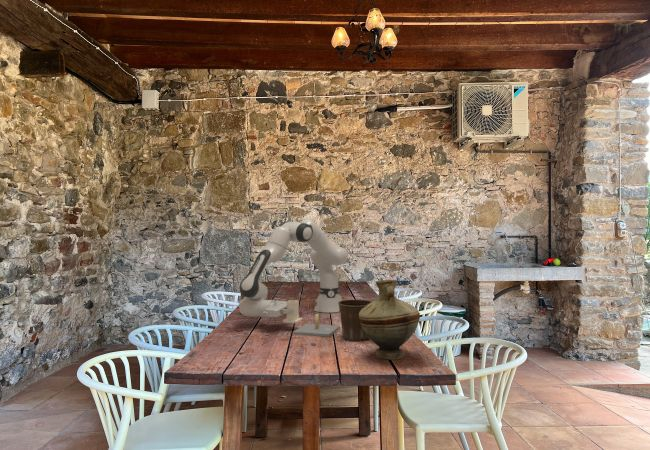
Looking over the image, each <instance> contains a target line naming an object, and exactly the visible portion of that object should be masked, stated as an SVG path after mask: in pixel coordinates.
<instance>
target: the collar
mask: <svg viewBox="0 0 650 450" xmlns="http://www.w3.org/2000/svg"><path fill="white" fill-rule="evenodd" d="M285 302H286V303H287V309H292V310H293V312H292V313H287V314H286V318H285V319H282V323H285V324H286V323H287V324H299V323H300V322H302V321H303V317H300V305H299V303H300V302H299V300H297V299H296V300H295V299H294V300H293V299H290V300H288V301H285Z"/></svg>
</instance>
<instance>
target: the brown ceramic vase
mask: <svg viewBox="0 0 650 450" xmlns="http://www.w3.org/2000/svg"><path fill="white" fill-rule="evenodd" d="M375 284H376V287H377V288H378V296H377V299H375V300H373V301H372V302H371V303H370V304H368V305H367V306H365V307H364V308H363V309H362V310H361V311H360V312H359V320H360V323H361V326H362V328H363V330H364V332H365V333H366V334H367V336H368V337H369V338H368V339H369V340H370V341H372V342H373V344H375V345H376V346H377V347H378V348H377V349H376V350H375V356H376V357H377V358H379V359H383V360H389V361H390V360H391V361H395V359H396V360H401V359H403V358H404V357H405V351H404V349H401V347H402V346H404V344H405V343H406V342H407V341H409V339H411V337H412V336H413V334H415V332H416V331H417V328H418V326H419V322H420V319H421V313H420V311H419V309H417V308H416V307H415V306H414V305H413V304H410V303H409V302H406V301H404V300H402V299H399V298H397V297H395V291H396V290H395V289H396V287H397V284H398V280H397V279H384V280H377V281H375Z"/></svg>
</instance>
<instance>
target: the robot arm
mask: <svg viewBox="0 0 650 450" xmlns="http://www.w3.org/2000/svg"><path fill="white" fill-rule="evenodd" d="M290 242H294V243H295V242H296V243H307V245H309V246H310V248H311V251H310V260H311V261H312V262H313V264H314V265H315V267H316V268H317V270H318V273H319V274H318V275H319V283H320V284H319V290H318V291H319V295H318V296H317V298H316V299H315V305H314V309H313V312H318V313H340V310H339V304H338V302H340V301H343V300H342V298H343V297H342V295H340V287H339V275H338V273H337V272H336V271H335V270H334V269H333V266H341V265H344V264H346V263H347V261H348V259H349V253H348V251H347V249H346V248H344V247H341V246H339V245H338V244H336V243H335V242H333V241H332V240H331V239H330V238H328V237H327V235H326V234H325V233H324V231H323V229H321V227H320V226H319V225H318V224H317V223H316V222H315V220H312V219H310V218H306V219H304V220H302V221H301V222H299V221H283V222H282V223H281V224H279V225H278V226H276V227H275V228H274V229H273V230H272V232H271V234H270V235H269V238H268V239H267V242H266V244H265V246H264V248H263V249H262V251H260V252H259V253H258V255H257V257H256V258H255V261H254V262H253V264H252V266H251V268H250V269H249V271H248V272H247V274H246V275H245V276H244V277H243V278H242V280H241V282H240V284H239V286H238V287H239V292H240V295H241V294H242V295H243V296H245V297H244V298H243V299H242V300H241V299H240V301H239V302H238V310H239V312H241V313H240V314H241V315H243V316H244V317H245V316H246V317H250V318H251V317H253V318H257V317H260V318H264V319H265V318H269V319H272V318H278V317H281V316H282V315H287V313H292V312H293V310H292V309H287V303H286V302H287V301H284V300H283V301H282V300H279V299H267V298H268V294H269V289H268V287H267V286H266V284H265V283H263V282H260V278H261V277H262V275H263V273H264V270H265V269H266V267H267V266H268V265H269V264H272V263H277V262H280V261H281V260H282V259H283V258H284V256H285V253H286V252H287V249H288V247H289V244H290Z"/></svg>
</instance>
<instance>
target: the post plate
mask: <svg viewBox="0 0 650 450" xmlns="http://www.w3.org/2000/svg"><path fill="white" fill-rule="evenodd" d="M314 319H315V320H314V324H313V323H305V324H303V325H302V326H300V327H298V328H296V329H295V330H294V331H292V335H297V336H298V335H300V336H311V337H323V338H330V337H331V336H333V334H335V333H336V332H337V331H338V330H340V329H341V325H331V324H320V315H319V313H316V314H314Z"/></svg>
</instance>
